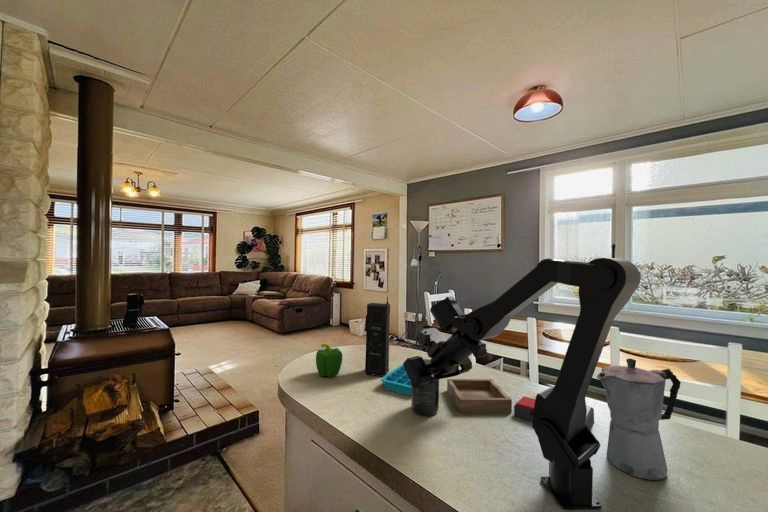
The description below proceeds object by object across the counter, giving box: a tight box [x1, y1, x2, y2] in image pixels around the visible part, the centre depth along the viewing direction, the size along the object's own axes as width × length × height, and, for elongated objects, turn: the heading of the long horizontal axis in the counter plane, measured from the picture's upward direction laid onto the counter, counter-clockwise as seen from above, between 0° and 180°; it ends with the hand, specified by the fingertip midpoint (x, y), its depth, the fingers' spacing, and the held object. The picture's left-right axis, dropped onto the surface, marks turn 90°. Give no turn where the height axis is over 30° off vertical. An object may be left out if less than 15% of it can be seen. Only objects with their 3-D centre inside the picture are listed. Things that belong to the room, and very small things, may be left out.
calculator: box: [513, 390, 595, 432], centre depth 75 cm, size 11×4×15 cm
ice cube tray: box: [380, 363, 412, 396], centre depth 96 cm, size 12×20×3 cm, turn 151°
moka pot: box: [596, 358, 681, 481], centre depth 59 cm, size 10×15×20 cm, turn 94°
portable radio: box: [364, 296, 391, 377], centre depth 103 cm, size 8×6×25 cm
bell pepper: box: [315, 343, 343, 378], centre depth 100 cm, size 8×8×10 cm
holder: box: [446, 378, 513, 414], centre depth 84 cm, size 13×13×3 cm
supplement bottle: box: [410, 358, 440, 417], centre depth 78 cm, size 7×7×12 cm
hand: (421, 381), depth 80 cm, fingers closed on supplement bottle, 6 cm apart
